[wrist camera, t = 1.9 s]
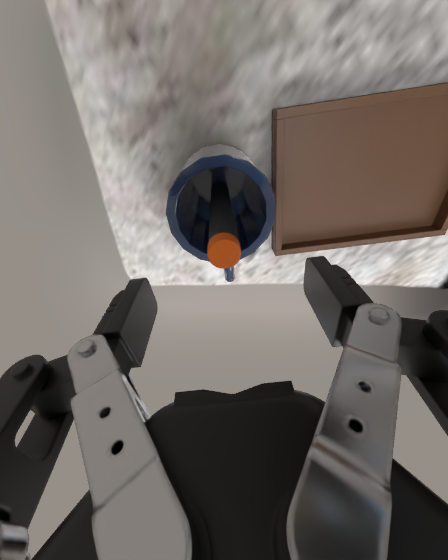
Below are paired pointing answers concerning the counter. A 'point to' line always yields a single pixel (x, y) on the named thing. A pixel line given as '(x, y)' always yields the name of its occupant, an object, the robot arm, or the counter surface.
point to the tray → (360, 170)
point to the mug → (243, 195)
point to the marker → (222, 229)
